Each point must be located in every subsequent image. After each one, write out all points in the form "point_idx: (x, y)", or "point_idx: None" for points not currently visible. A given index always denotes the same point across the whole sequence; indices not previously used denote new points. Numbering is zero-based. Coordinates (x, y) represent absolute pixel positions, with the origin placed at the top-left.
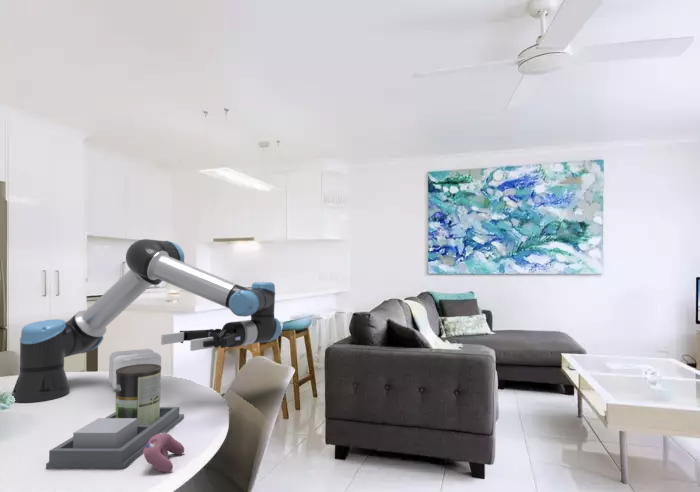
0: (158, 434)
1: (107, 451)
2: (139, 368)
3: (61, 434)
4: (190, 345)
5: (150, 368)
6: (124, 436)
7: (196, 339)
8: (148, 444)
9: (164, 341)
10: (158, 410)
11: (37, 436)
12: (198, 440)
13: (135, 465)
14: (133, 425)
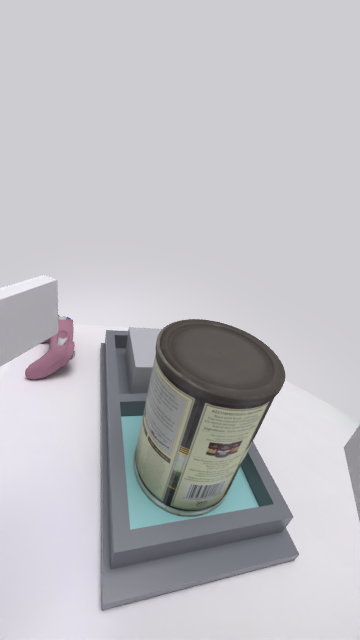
0: (62, 326)
1: (125, 332)
2: (223, 355)
3: (298, 435)
4: (57, 308)
5: (189, 354)
6: (129, 352)
7: (21, 287)
8: (67, 317)
9: (356, 442)
10: (140, 447)
11: (321, 425)
12: (5, 429)
13: (91, 354)
14: (133, 364)
